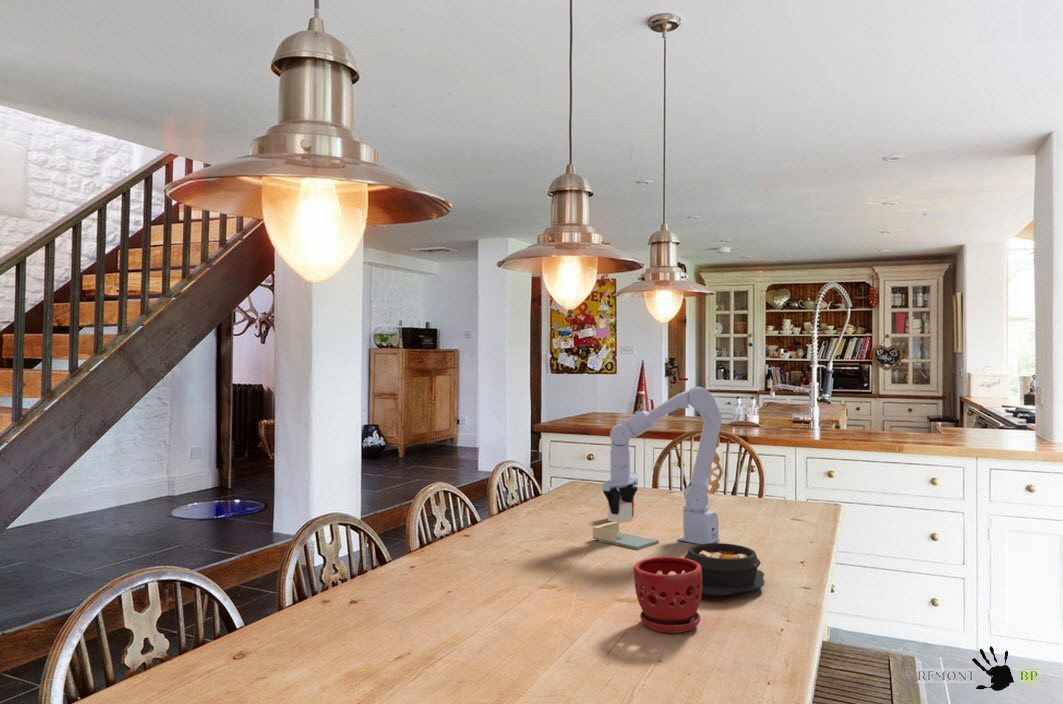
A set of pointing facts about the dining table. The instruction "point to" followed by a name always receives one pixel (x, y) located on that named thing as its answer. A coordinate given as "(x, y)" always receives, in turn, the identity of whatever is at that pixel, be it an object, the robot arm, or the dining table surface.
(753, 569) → the casserole
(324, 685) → the dining table surface
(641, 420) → the robot arm
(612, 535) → the board
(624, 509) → the cabinet block
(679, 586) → the plant pot
